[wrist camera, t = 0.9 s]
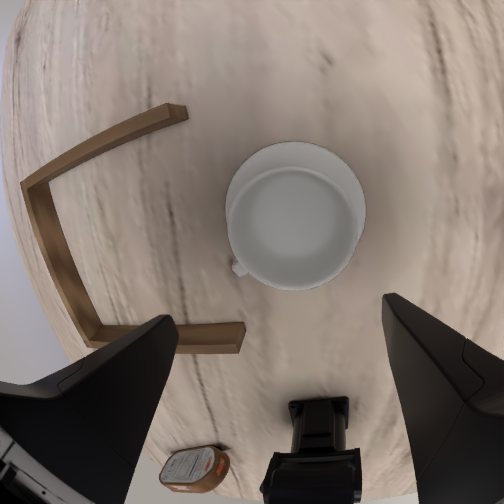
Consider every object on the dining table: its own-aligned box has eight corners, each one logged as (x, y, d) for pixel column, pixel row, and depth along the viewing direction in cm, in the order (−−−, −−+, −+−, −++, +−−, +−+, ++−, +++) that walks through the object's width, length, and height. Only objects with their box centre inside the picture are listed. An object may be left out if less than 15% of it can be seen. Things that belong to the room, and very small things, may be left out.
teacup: (300, 112, 17) (299, 104, 13) (390, 222, 19) (410, 246, 15) (200, 205, 21) (173, 224, 17) (287, 297, 23) (281, 333, 18)
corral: (246, 330, 25) (238, 353, 22) (100, 332, 29) (87, 347, 26) (185, 106, 18) (166, 103, 15) (40, 176, 22) (19, 182, 20)
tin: (180, 457, 40) (165, 493, 33) (166, 449, 40) (150, 485, 32) (236, 448, 34) (223, 494, 27) (221, 439, 34) (205, 486, 26)
